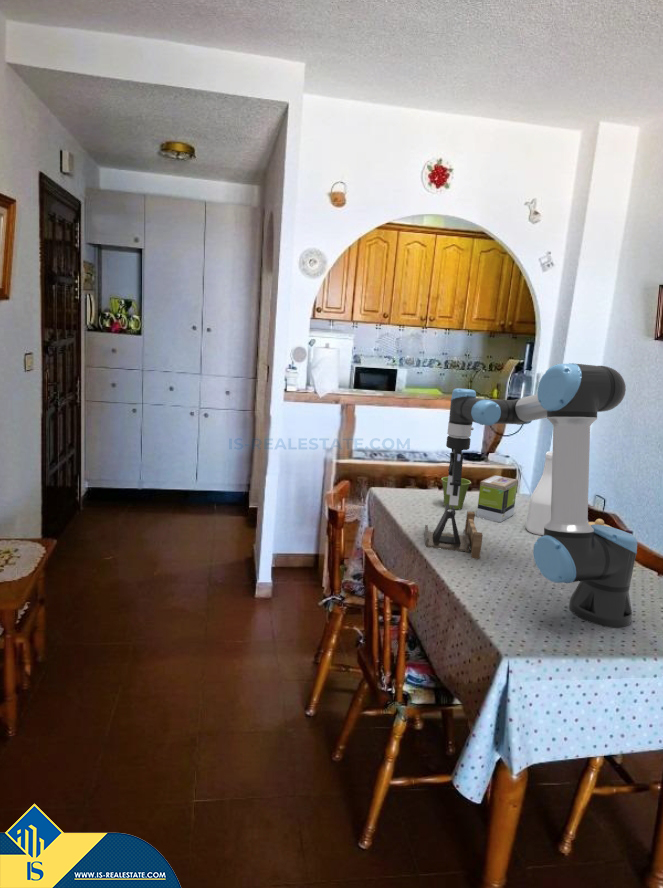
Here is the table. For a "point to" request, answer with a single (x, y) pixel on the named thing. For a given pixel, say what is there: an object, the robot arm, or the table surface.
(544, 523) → the wine bottle
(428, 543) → the keeper plate
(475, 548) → the door pull handle
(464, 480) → the plant pot
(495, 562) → the table surface
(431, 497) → the table surface
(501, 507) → the tea box
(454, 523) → the phone stand
